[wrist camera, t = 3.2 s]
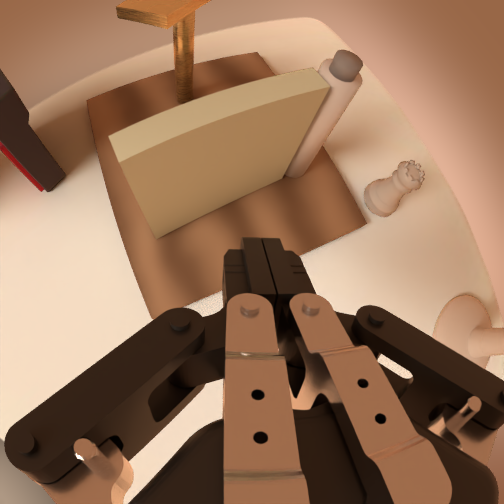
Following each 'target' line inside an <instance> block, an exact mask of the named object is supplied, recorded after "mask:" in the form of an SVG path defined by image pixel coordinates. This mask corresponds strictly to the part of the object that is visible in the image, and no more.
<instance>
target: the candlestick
mask: <svg viewBox="0 0 504 504" xmlns="http://www.w3.org/2000/svg"><path fill="white" fill-rule="evenodd" d="M432 338H434V339H435V340H437V341H439V342H440V343H442V344H444V345H446V346H447V347H449V348H451V349H452V350H454V351H456V352H457V353H459V354H460V355H462V356H464V357H465V358H467V359H469V360H470V361H472V362H474V363H475V364H477V365H479V366H480V367H482V368H484V369H485V368H486V366H487V363H488V361H489V357H490V356H493V355H503V354H504V328H492V326H491V322H490V318H489V315H488V313H487V311H486V309H485V307H484V306H483V305H482V303H481V302H480V301H479V300H478V299H476V298H475V297H473V296H469V295H462V296H458V297H455V298H454V299H452V300H451V301H449V302H448V303H447V304H446V306H445V307H444V308H443V310H442V311H441V313H440V315H439V317H438V319H437V322H436V325H435V328H434V332H433V337H432Z"/></svg>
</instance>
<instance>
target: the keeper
mask: <svg viewBox="0 0 504 504" xmlns="http://www.w3.org/2000/svg"><path fill="white" fill-rule="evenodd" d="M209 1H211V0H126V1H124V2H122V3H121V4H119V5H118V6H116V10H117V16H118V18H120V19H125V20H131V21H135V22H141V23H144V24H149V25H153V26H157V27H161V28H165V29H168V28H170V27H171V26H173V39H174V40H173V41H174V65H175V83H176V98H177V102H179V103H180V104H184V103H187V102H190V101H192V100H193V62H194V23H195V10H196V9H198V8H199V7H201V6H203V5H204V4H206V3H208V2H209Z"/></svg>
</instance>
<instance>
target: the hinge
mask: <svg viewBox="0 0 504 504" xmlns="http://www.w3.org/2000/svg"><path fill="white" fill-rule="evenodd" d="M362 66H363V62H362V60H361V59H360V58H359V57H358V56H357V55H355V54H354V53H352V52H350V51H346V50H339V51H337V52H336V54H335V56H334V58H333V59H326V60H324V61H323V62H322V64H321V66H320V68H319V70H318V72H317V71H316V70H315V69H314V68H308V69H303V70H299V71H294V72H289V73H285V74H281V75H276V76H272V77H268V78H264V79H260V80H257V81H253V82H249V83H246V84H242V85H239V86H235V87H232V88H229V89H226V90H222V91H219V92H216V93H213V94H210V95H207V96H204V97H201V98H198V99H196V100H193V101H190V102H187V103H184V104H182V105H179V106H177V107H174V108H171V109H169V110H166V111H164V112H161V113H159V114H156V115H154V116H152V117H149V118H147V119H145V120H142V121H140V122H138V123H135V124H133V125H131V126H129V127H127V128H125V129H122V130H120V131H118V132H116V133H114V134H112V135H110V136H108V137H109V139H110V142H111V144H112V147H113V149H114V152H115V154H116V157H117V159H118V162H119V164H120V166H121V168H122V170H123V173H124V175H125V177H126V179H127V181H128V183H129V185H130V188H131V190H132V192H133V194H134V196H135V198H136V200H137V202H138V204H139V206H140V208H141V210H142V212H143V214H144V216H145V218H146V220H147V222H148V224H149V226H150V228H151V230H152V232H153V234H154V236H155V238H156V239H158V238H160V237H162V236H164V235H166V234H167V233H169V232H171V231H173V230H175V229H177V228H179V227H181V226H183V225H185V224H187V223H189V222H191V221H193V220H195V219H197V218H199V217H201V216H203V215H205V214H207V213H209V212H212V211H214V210H216V209H218V208H220V207H222V206H224V205H226V204H228V203H230V202H232V201H235V200H237V199H239V198H241V197H243V196H245V195H247V194H249V193H252V192H254V191H256V190H258V189H260V188H263V187H265V186H267V185H269V184H271V183H274V182H276V181H278V180H280V179H282V177H283V176H284V174H285V175H286V176H289V177H293V178H297V177H300V176H302V175H303V174H304V173H305V172H306V170H307V169H308V167H309V165H310V164H311V162H312V161H313V159H314V158H315V156H316V155H317V153H318V151H319V150H320V148H321V147H322V145H323V144H324V142H325V141H326V139H327V137H328V136H329V134H330V133H331V131H332V130H333V128H334V126H335V125H336V123H337V122H338V120H339V119H340V117H341V116H342V114H343V112H344V111H345V109H346V108H347V106H348V105H349V103H350V101H351V100H352V98H353V97H354V95H355V94H356V92H357V91H358V89H359V87H360V86H361V84H362V77H361V75H360V74H359V71H360V70H361V68H362Z"/></svg>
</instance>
